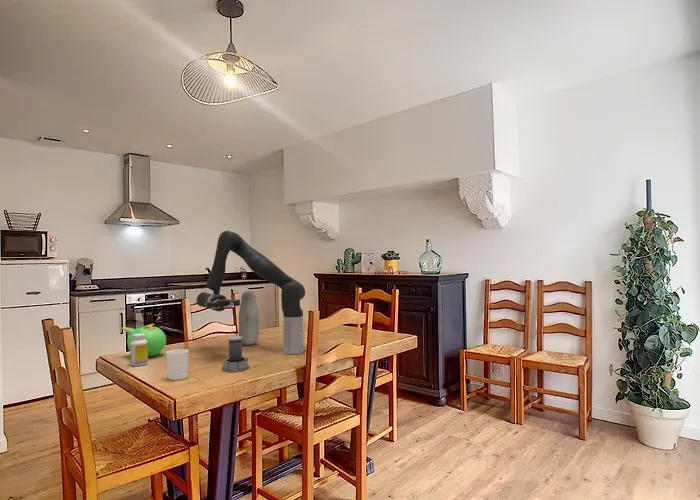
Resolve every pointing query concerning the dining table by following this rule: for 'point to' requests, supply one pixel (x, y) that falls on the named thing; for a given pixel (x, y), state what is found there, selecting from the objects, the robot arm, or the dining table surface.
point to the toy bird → (149, 338)
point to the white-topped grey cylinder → (235, 348)
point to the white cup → (177, 363)
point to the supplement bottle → (138, 350)
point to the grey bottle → (248, 318)
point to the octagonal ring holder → (235, 365)
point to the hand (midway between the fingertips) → (227, 304)
